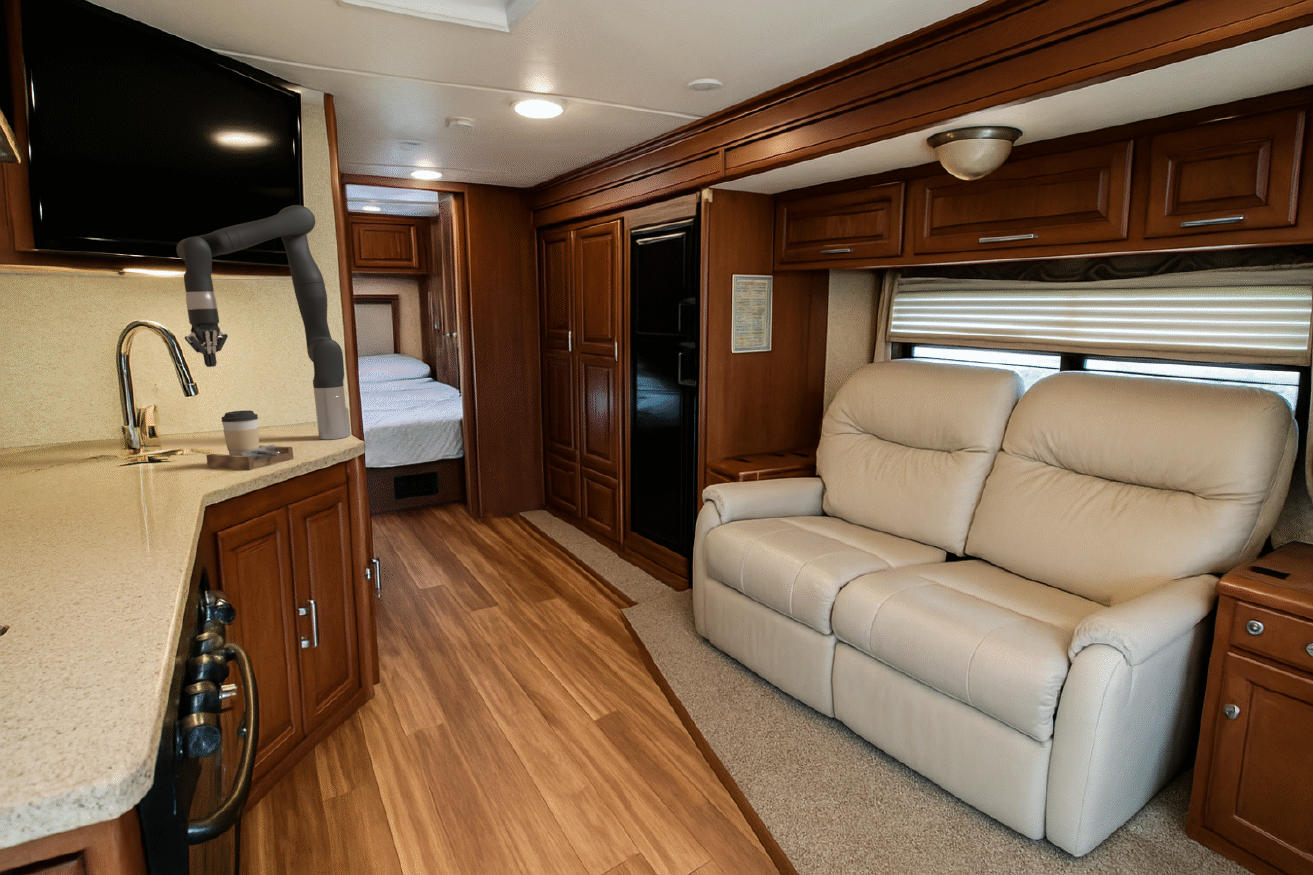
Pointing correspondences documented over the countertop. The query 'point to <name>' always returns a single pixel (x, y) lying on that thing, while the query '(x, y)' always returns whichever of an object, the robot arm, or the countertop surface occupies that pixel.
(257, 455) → the pusher
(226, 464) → the wooden tray
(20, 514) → the countertop surface
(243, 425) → the coffee cup
